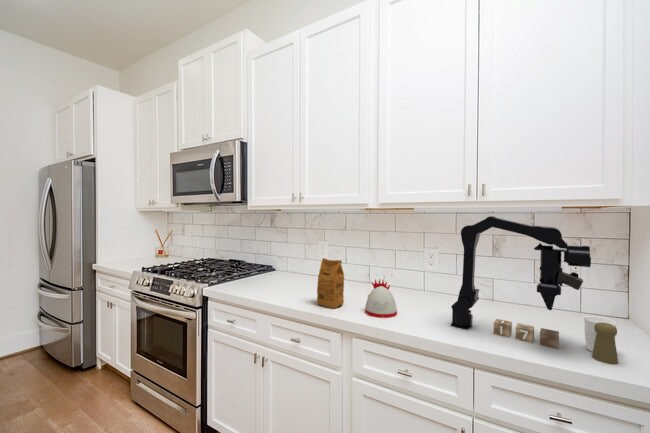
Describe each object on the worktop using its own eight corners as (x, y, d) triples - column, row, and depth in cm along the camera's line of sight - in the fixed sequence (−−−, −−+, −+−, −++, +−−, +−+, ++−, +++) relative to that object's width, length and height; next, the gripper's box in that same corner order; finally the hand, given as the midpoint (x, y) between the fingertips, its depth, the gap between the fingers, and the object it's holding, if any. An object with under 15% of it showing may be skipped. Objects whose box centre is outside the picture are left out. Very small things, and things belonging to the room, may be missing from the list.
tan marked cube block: (515, 339, 109) (515, 326, 109) (517, 335, 113) (517, 322, 113) (532, 343, 106) (532, 330, 106) (534, 338, 110) (534, 325, 110)
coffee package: (326, 300, 155) (326, 256, 155) (346, 305, 147) (347, 259, 147) (313, 304, 147) (313, 258, 147) (333, 310, 139) (334, 261, 139)
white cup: (620, 358, 96) (621, 326, 95) (589, 353, 98) (590, 322, 98) (608, 347, 103) (609, 318, 103) (579, 343, 106) (580, 314, 106)
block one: (493, 334, 113) (493, 322, 113) (496, 330, 117) (496, 318, 117) (509, 338, 110) (509, 325, 110) (511, 333, 114) (511, 321, 114)
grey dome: (365, 307, 145) (366, 275, 144) (395, 308, 142) (396, 276, 142) (364, 316, 131) (364, 281, 131) (397, 319, 129) (398, 283, 128)
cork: (605, 354, 98) (605, 320, 98) (624, 364, 92) (625, 327, 91) (586, 354, 97) (587, 320, 97) (604, 364, 91) (605, 327, 91)
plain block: (539, 345, 105) (539, 332, 104) (540, 340, 108) (541, 327, 108) (558, 349, 101) (558, 335, 101) (558, 344, 105) (558, 331, 105)
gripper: (581, 270, 92) (581, 322, 92) (581, 263, 107) (580, 308, 107) (536, 266, 99) (536, 314, 99) (541, 260, 114) (541, 302, 114)
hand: (549, 309), depth 105 cm, fingers closed
